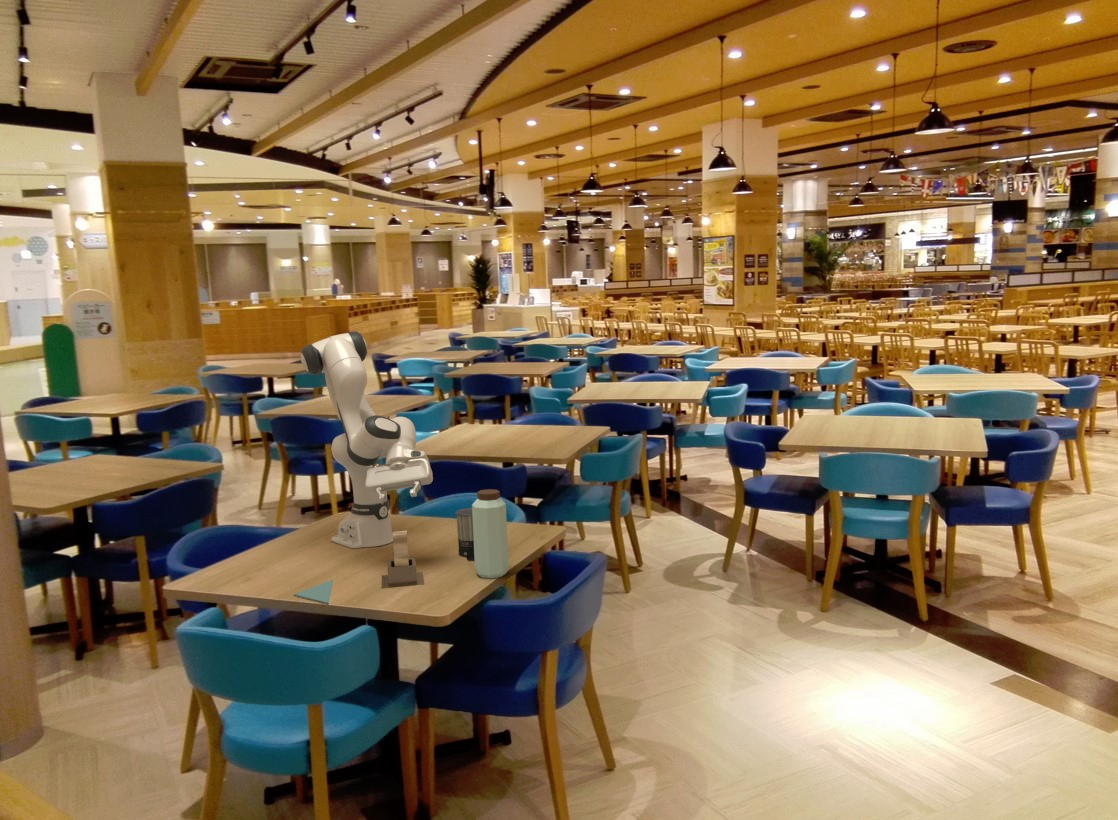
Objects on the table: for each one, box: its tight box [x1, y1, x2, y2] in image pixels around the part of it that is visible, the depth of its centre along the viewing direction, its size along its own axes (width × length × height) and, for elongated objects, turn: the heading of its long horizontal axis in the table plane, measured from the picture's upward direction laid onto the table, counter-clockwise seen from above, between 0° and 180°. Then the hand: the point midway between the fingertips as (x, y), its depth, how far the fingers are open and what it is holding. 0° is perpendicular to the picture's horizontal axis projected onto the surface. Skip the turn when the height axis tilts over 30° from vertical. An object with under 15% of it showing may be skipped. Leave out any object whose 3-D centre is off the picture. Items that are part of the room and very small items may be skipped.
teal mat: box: [293, 579, 334, 605], centre depth 247 cm, size 16×16×1 cm
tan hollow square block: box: [380, 557, 425, 589], centre depth 252 cm, size 12×12×6 cm
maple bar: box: [392, 530, 409, 567], centre depth 252 cm, size 4×4×14 cm
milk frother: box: [454, 507, 475, 561], centre depth 278 cm, size 14×16×15 cm
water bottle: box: [471, 488, 510, 579], centre depth 257 cm, size 10×10×25 cm
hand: (397, 498), depth 258 cm, fingers open, 8 cm apart
